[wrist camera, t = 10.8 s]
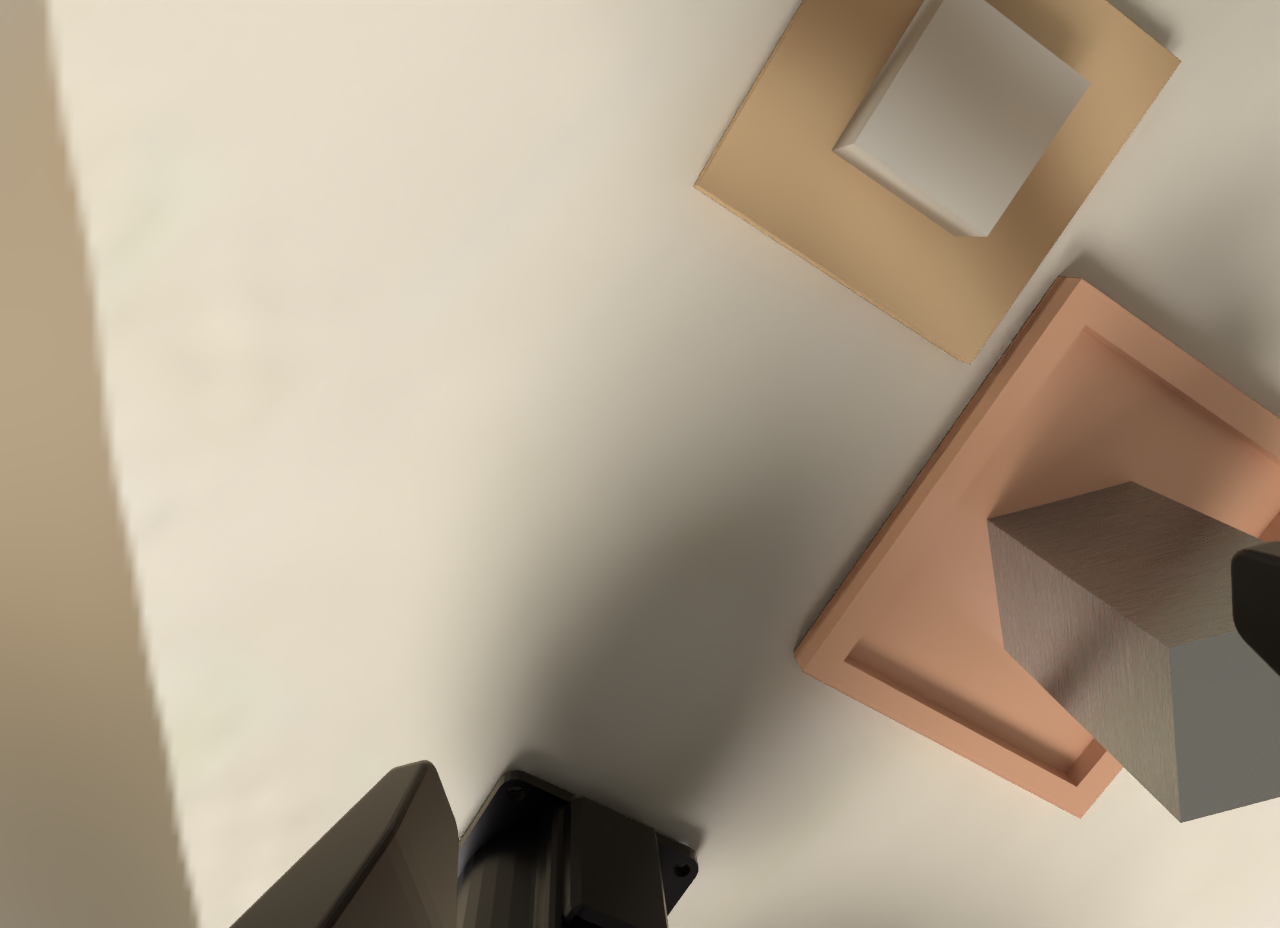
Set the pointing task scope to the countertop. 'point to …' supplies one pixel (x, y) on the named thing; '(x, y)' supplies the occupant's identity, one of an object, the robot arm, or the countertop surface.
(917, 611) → the tray
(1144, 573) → the strut
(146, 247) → the countertop surface
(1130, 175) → the countertop surface
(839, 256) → the stud base
